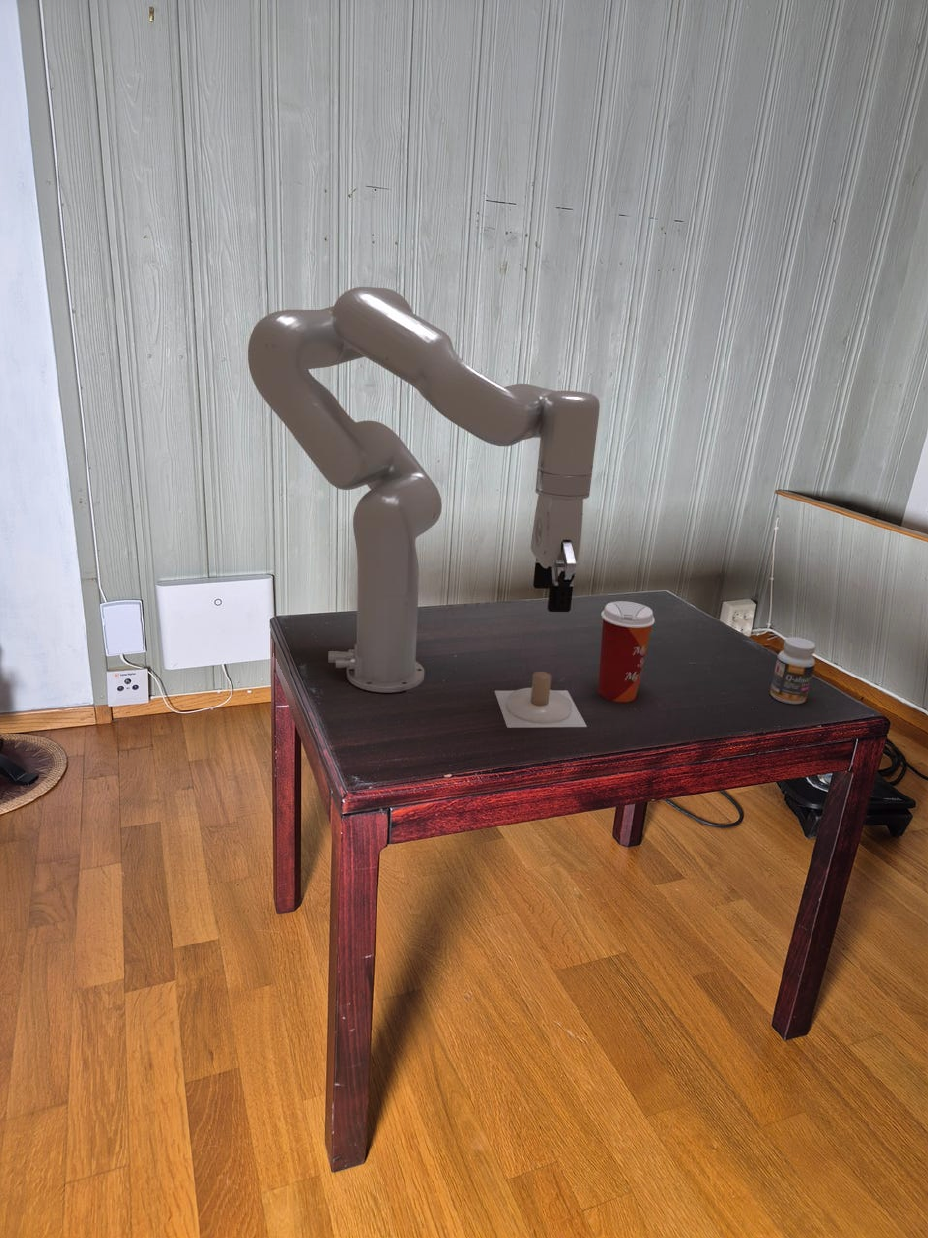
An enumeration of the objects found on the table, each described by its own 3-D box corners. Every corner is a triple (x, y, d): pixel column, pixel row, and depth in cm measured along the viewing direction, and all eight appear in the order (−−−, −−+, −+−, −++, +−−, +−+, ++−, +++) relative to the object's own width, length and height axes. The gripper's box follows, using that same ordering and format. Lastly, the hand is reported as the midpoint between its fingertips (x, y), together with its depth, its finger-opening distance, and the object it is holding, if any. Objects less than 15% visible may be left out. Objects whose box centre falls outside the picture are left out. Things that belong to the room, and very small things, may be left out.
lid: (512, 724, 124) (515, 690, 122) (501, 693, 133) (504, 661, 131) (578, 723, 125) (582, 690, 123) (562, 693, 134) (566, 661, 132)
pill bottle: (783, 706, 135) (795, 650, 132) (762, 691, 141) (774, 636, 137) (813, 704, 137) (826, 648, 133) (791, 689, 142) (803, 634, 138)
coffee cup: (642, 710, 131) (656, 621, 126) (589, 703, 132) (601, 614, 127) (642, 688, 139) (655, 603, 133) (592, 681, 140) (603, 596, 135)
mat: (507, 729, 123) (507, 727, 123) (494, 692, 134) (494, 690, 134) (586, 729, 124) (586, 726, 124) (567, 692, 135) (567, 690, 135)
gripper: (524, 469, 124) (514, 579, 130) (551, 497, 108) (538, 621, 114) (573, 471, 125) (561, 580, 131) (607, 499, 109) (591, 621, 115)
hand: (550, 599), depth 123 cm, fingers open, 9 cm apart
